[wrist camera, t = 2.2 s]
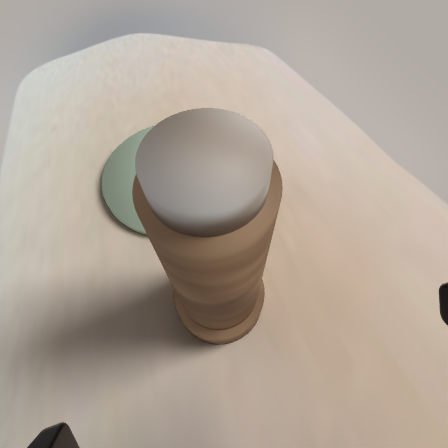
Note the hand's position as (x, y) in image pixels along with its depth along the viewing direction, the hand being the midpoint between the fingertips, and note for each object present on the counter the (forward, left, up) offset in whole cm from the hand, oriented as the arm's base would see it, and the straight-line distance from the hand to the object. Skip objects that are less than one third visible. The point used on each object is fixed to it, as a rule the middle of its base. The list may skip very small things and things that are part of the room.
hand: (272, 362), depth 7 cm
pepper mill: (+4, +4, -12) cm, 13 cm away
